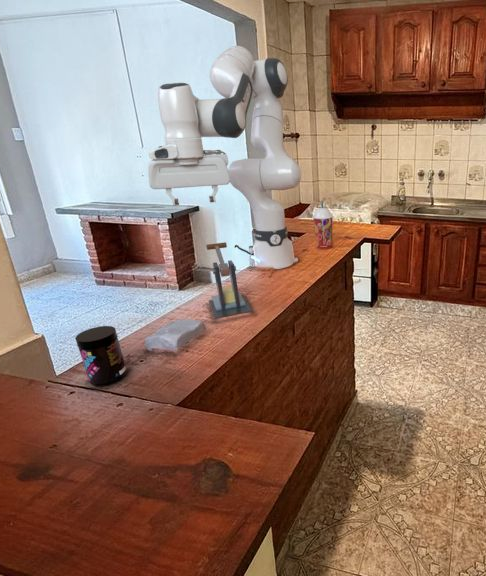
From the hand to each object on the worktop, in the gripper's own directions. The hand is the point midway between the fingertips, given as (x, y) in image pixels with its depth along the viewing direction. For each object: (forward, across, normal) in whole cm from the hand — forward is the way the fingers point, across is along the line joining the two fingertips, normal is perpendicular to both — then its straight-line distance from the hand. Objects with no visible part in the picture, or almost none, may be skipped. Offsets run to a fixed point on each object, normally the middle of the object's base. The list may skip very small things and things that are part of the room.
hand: (194, 203), depth 110 cm
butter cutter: (+29, -4, +10) cm, 31 cm away
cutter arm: (+16, -4, +4) cm, 17 cm away
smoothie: (+29, -52, -40) cm, 72 cm away
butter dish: (+28, -4, +7) cm, 29 cm away
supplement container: (+29, +24, +34) cm, 51 cm away
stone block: (+29, +11, +23) cm, 39 cm away
